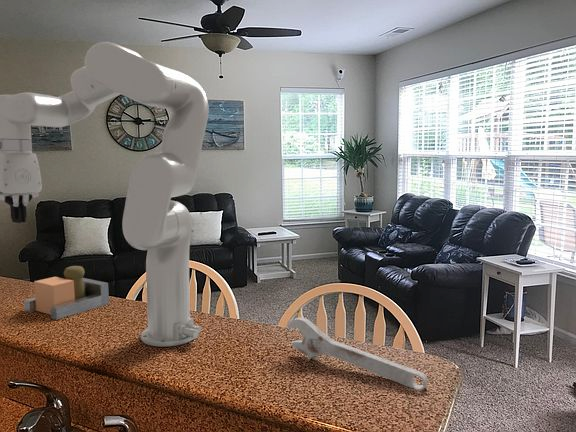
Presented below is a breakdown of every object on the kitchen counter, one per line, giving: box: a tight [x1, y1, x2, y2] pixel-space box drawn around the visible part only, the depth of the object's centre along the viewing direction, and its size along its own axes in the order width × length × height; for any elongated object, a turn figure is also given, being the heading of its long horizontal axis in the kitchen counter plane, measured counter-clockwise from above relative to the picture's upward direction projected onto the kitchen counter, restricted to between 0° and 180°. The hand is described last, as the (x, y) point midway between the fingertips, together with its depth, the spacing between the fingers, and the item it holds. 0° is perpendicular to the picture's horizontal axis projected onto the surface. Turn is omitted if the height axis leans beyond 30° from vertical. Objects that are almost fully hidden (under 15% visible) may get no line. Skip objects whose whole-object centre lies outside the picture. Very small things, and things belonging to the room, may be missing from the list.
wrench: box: [286, 316, 429, 391], centre depth 94 cm, size 8×2×30 cm
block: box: [33, 276, 75, 316], centre depth 128 cm, size 8×6×8 cm
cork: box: [63, 265, 86, 300], centre depth 133 cm, size 6×6×11 cm
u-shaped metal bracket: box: [23, 277, 110, 321], centre depth 131 cm, size 14×16×6 cm
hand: (19, 222), depth 118 cm, fingers closed
